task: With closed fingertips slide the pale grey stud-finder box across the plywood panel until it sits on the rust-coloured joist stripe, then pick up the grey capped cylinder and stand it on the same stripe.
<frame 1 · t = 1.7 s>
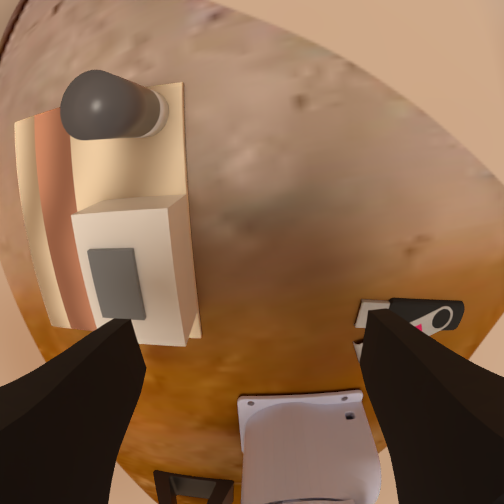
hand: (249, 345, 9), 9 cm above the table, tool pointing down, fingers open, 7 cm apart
grey capped cylinder: (145, 113, 14), resting on panel
phone stand: (195, 484, 28), on the table
panel: (95, 224, 17), on the table
usb flash drive: (403, 327, 19), on the table
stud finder: (149, 257, 17), resting on panel
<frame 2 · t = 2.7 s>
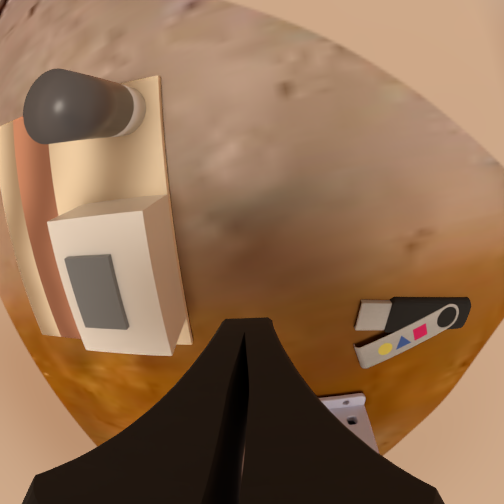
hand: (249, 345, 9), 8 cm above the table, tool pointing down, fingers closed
grey capped cylinder: (122, 111, 13), resting on panel
panel: (78, 229, 16), on the table
usb flash drive: (407, 327, 18), on the table
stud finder: (133, 262, 16), resting on panel
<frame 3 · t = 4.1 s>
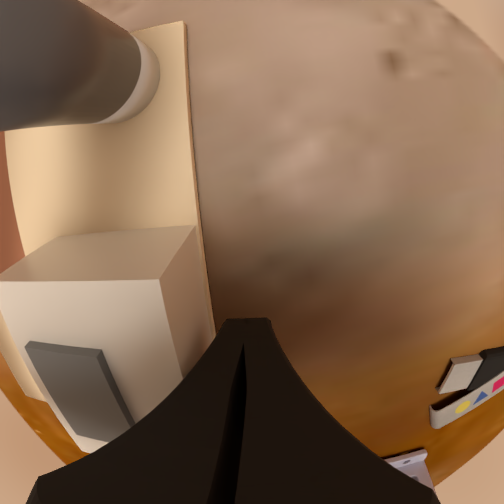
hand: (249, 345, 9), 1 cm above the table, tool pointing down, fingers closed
grey capped cylinder: (117, 80, 7), resting on panel
panel: (54, 273, 10), on the table
usb flash drive: (483, 376, 12), on the table
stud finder: (140, 327, 10), resting on panel, touching gripper
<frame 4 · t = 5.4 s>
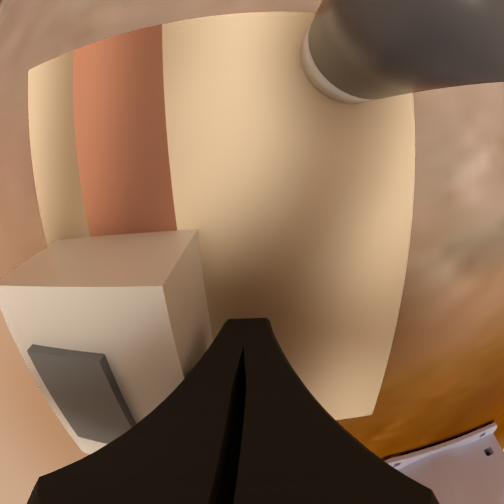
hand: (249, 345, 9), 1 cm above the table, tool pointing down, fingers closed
grey capped cylinder: (347, 59, 7), resting on panel
panel: (217, 266, 9), on the table
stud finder: (141, 330, 10), resting on panel, touching gripper
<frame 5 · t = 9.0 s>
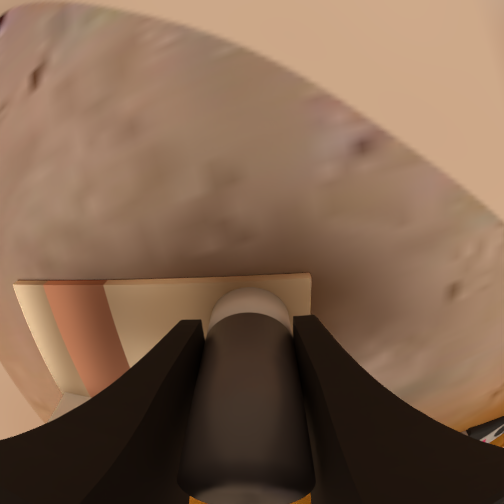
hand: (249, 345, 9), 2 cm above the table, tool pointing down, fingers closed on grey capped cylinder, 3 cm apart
grey capped cylinder: (250, 321, 10), resting on panel, touching gripper
panel: (174, 418, 13), on the table
usb flash drive: (469, 438, 15), on the table
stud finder: (127, 440, 13), resting on panel
when the fingers open (3 cm above the table, at t = 11.8 s): grey capped cylinder drops 1 cm, resting on panel.
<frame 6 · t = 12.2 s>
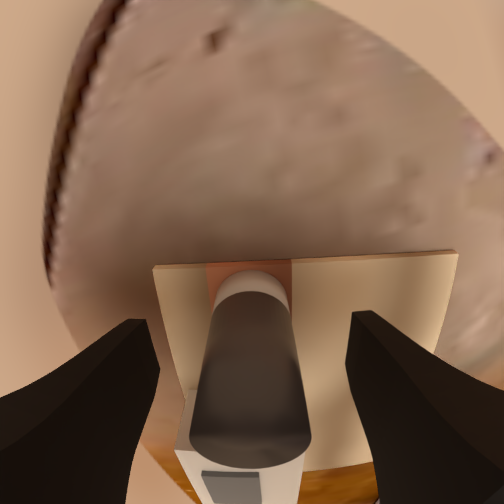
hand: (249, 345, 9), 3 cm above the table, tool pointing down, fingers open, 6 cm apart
grey capped cylinder: (251, 302, 11), resting on panel
panel: (309, 399, 14), on the table
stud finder: (247, 432, 14), resting on panel
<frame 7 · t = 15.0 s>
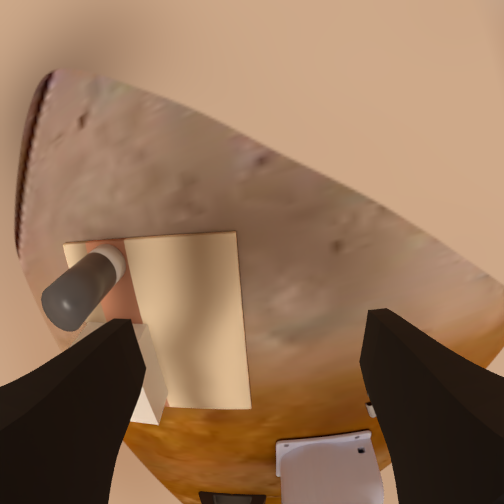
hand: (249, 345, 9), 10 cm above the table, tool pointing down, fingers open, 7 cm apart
grey capped cylinder: (108, 262, 18), resting on panel
phone stand: (233, 499, 32), on the table
panel: (161, 336, 21), on the table
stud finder: (129, 360, 21), resting on panel
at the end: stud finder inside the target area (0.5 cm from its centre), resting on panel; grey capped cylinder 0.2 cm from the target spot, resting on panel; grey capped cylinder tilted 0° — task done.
